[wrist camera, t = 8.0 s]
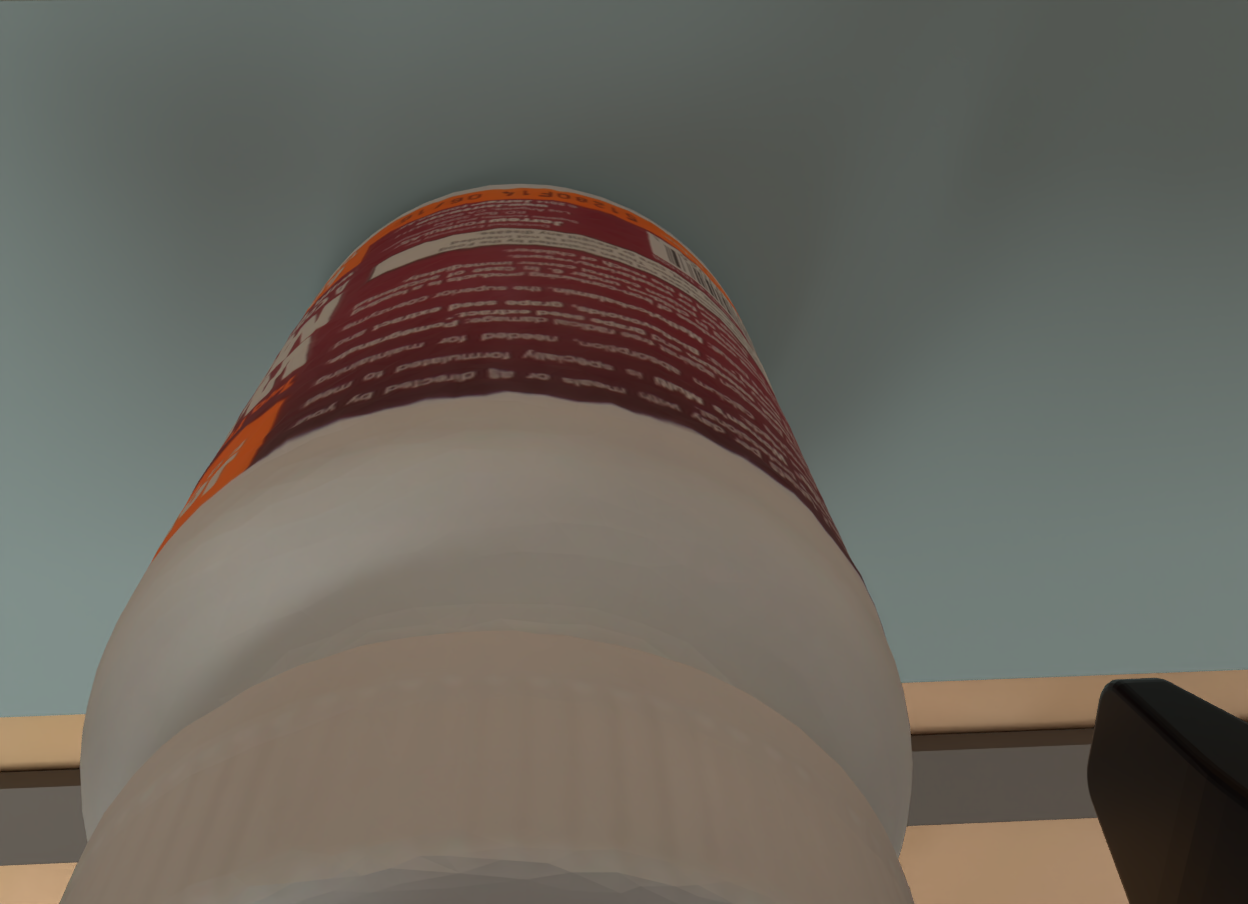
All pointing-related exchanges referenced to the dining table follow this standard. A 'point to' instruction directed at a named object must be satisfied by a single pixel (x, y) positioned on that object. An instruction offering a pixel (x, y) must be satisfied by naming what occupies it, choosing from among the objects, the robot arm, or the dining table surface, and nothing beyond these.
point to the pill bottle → (502, 605)
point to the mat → (716, 233)
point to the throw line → (940, 794)
